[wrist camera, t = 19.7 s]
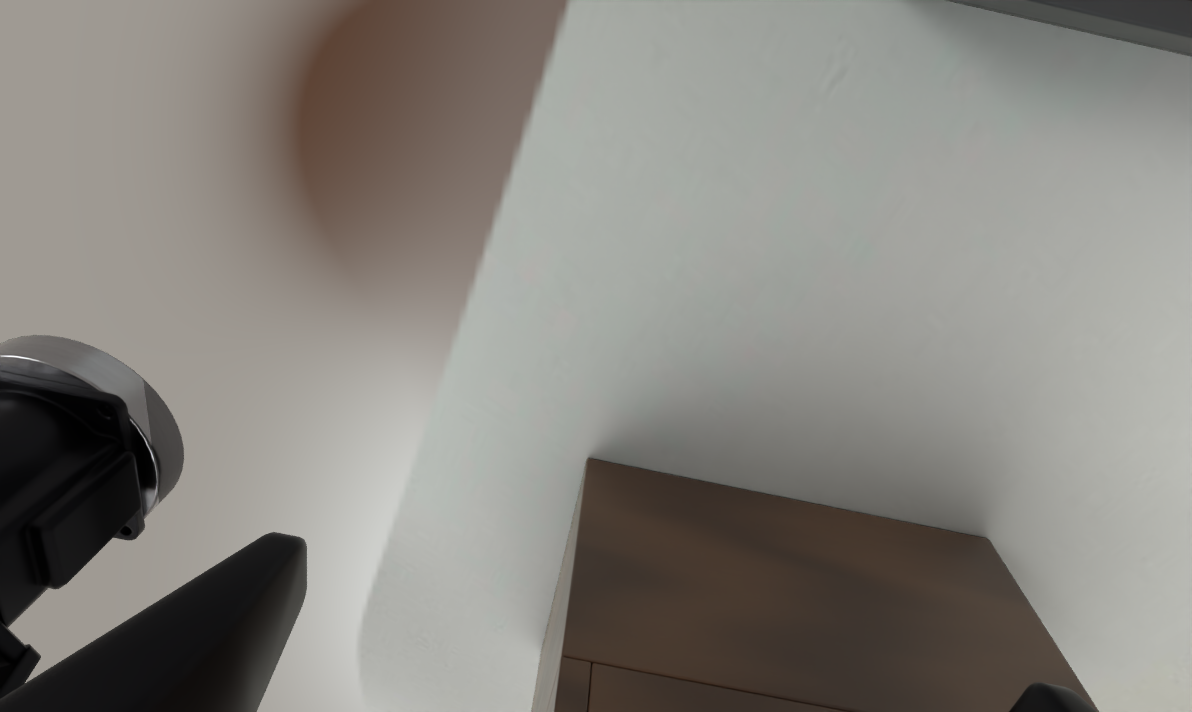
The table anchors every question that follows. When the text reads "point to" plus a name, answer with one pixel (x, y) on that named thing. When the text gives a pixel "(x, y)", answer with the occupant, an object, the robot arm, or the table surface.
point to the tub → (1109, 18)
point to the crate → (778, 608)
